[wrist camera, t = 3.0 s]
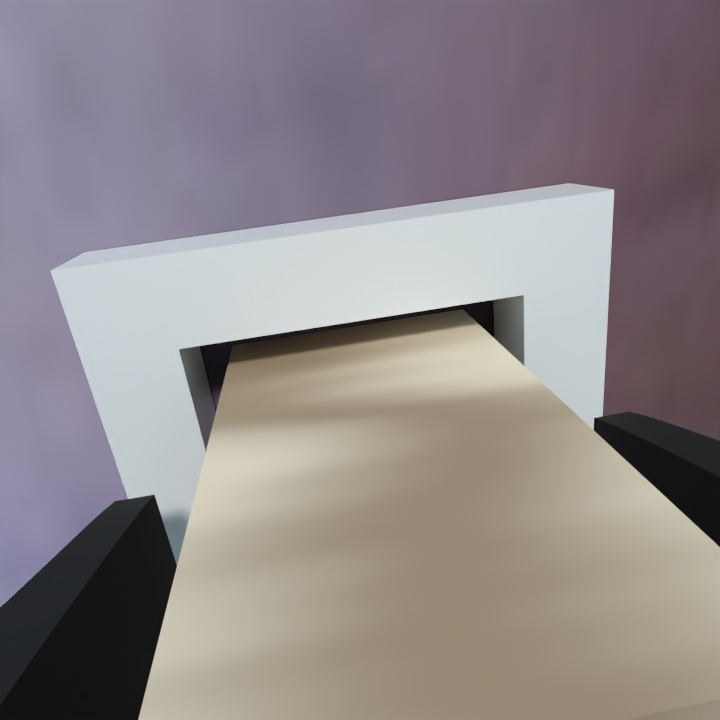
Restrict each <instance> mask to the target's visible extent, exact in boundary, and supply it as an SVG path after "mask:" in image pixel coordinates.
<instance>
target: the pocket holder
mask: <svg viewBox="0 0 720 720" xmlns="http://www.w3.org/2000/svg"><path fill="white" fill-rule="evenodd" d="M613 204H614V189H607V188H599V187H592V186H585V185H578V184H571V183H567V184H560V185H553V186H546V187H539V188H532V189H525V190H518V191H511V192H504V193H497V194H490V195H483V196H476V197H469V198H462V199H455V200H448V201H441V202H434V203H427V204H420V205H413V206H406V207H399V208H392V209H385V210H378V211H371V212H364V213H357V214H350V215H343V216H336V217H329V218H322V219H315V220H308V221H301V222H294V223H287V224H280V225H273V226H266V227H258V228H251V229H244V230H237V231H230V232H223V233H216V234H209V235H202V236H195V237H188V238H181V239H174V240H167V241H160V242H153V243H146V244H139V245H132V246H125V247H118V248H111V249H104V250H97V251H90V252H84V253H82V254H81V255H79V256H77V257H75V258H73V259H71V260H70V261H68V262H66V263H64V264H62V265H60V266H59V267H57V268H55V269H53V270H51V274H52V277H53V279H54V282H55V285H56V288H57V291H58V294H59V297H60V300H61V303H62V306H63V309H64V312H65V315H66V318H67V321H68V323H69V326H70V329H71V332H72V335H73V338H74V341H75V344H76V347H77V350H78V353H79V356H80V359H81V362H82V365H83V368H84V370H85V373H86V376H87V379H88V382H89V385H90V388H91V391H92V394H93V397H94V400H95V403H96V406H97V409H98V412H99V414H100V417H101V420H102V423H103V426H104V429H105V432H106V435H107V438H108V441H109V444H110V447H111V450H112V453H113V456H114V458H115V461H116V464H117V467H118V470H119V473H120V476H121V479H122V482H123V485H124V488H125V491H126V494H127V497H128V499H132V498H138V497H143V496H149V495H155V498H156V501H157V504H158V507H159V511H160V514H161V517H162V520H163V523H164V526H165V529H166V533H167V536H168V539H169V542H170V545H171V548H172V551H173V555H174V558H175V561H176V564H178V560H179V556H180V552H181V548H182V545H183V541H184V537H185V533H186V529H187V525H188V521H189V517H190V513H191V509H192V505H193V501H194V497H195V493H196V489H197V485H198V481H199V477H200V473H201V469H202V465H203V461H204V457H205V454H206V450H207V446H208V442H209V438H210V434H211V430H212V426H213V422H214V418H215V414H216V411H215V407H214V403H213V399H212V395H211V391H210V387H209V383H208V379H207V375H206V371H205V367H204V363H203V359H202V354H201V350H200V346H203V345H209V344H215V343H222V342H228V341H235V340H241V339H247V338H254V337H260V336H266V335H273V334H279V333H286V332H292V331H298V330H305V329H311V328H317V327H324V326H330V325H337V324H343V323H349V322H356V321H362V320H368V319H375V318H381V317H388V316H394V315H400V314H407V313H413V312H419V311H426V310H432V309H438V308H445V307H451V306H458V305H464V304H470V303H477V302H483V301H489V300H493V312H494V338H495V339H496V340H497V341H498V342H499V343H500V344H501V345H502V346H503V347H504V348H505V349H506V350H507V351H509V352H510V353H511V354H512V355H513V356H514V357H515V358H516V359H517V360H518V361H519V362H520V363H522V364H523V365H524V366H525V367H526V368H527V369H528V370H529V371H530V372H531V373H532V374H533V375H534V376H536V377H537V378H538V379H539V380H540V381H541V382H542V383H543V384H544V385H545V386H546V387H547V388H549V389H550V390H551V391H552V392H553V393H554V394H555V395H556V396H557V397H558V398H559V399H560V400H561V401H563V402H564V403H565V404H566V405H567V406H568V407H569V408H570V409H571V410H572V411H573V412H574V413H576V414H577V415H578V416H579V417H580V418H581V419H582V420H583V421H584V422H585V423H586V424H587V425H588V426H590V427H591V428H592V429H593V430H594V418H597V417H602V416H603V397H604V378H605V358H606V339H607V320H608V301H609V281H610V262H611V243H612V224H613Z"/></svg>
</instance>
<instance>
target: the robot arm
mask: <svg viewBox="0 0 720 720" xmlns="http://www.w3.org/2000/svg"><path fill="white" fill-rule="evenodd" d="M594 431H595V432H596V433H597V434H598V435H599V436H600V437H601V438H603V439H604V440H605V441H606V442H607V443H608V444H609V445H610V446H611V447H612V448H613V449H614V450H615V451H617V452H618V453H619V454H620V455H621V456H622V457H623V458H624V459H625V460H626V461H627V462H628V463H630V464H631V465H632V466H633V467H634V468H635V469H636V470H637V471H638V472H639V473H640V474H641V475H642V476H644V477H645V478H646V479H647V480H648V481H649V482H650V483H651V484H652V485H653V486H654V487H655V488H657V489H658V490H659V491H660V492H661V493H662V494H663V495H664V496H665V497H666V498H667V499H668V500H669V501H671V502H672V503H673V504H674V505H675V506H676V507H677V508H678V509H679V510H680V511H681V512H682V513H684V514H685V515H686V516H687V517H688V518H689V519H690V520H691V521H692V522H693V523H694V524H695V525H696V526H698V527H699V528H700V529H701V530H702V531H703V532H704V533H705V534H706V535H707V536H708V537H709V538H711V539H712V540H713V541H714V542H715V543H716V544H717V545H718V546H719V547H720V441H718V440H715V439H712V438H709V437H706V436H704V435H701V434H698V433H695V432H692V431H690V430H687V429H684V428H681V427H678V426H675V425H672V424H669V423H666V422H663V421H660V420H657V419H654V418H651V417H647V416H644V415H640V414H636V413H632V412H625V413H620V414H614V415H608V416H602V417H597V418H594ZM176 568H177V564H176V561H175V558H174V555H173V551H172V548H171V545H170V542H169V539H168V536H167V533H166V529H165V526H164V523H163V520H162V517H161V514H160V511H159V507H158V504H157V501H156V498H155V495H149V496H143V497H138V498H132V499H126V500H120V501H115V502H114V503H113V504H111V505H110V506H109V507H108V508H106V509H105V510H104V511H103V512H102V513H101V514H100V515H98V516H97V517H96V518H95V519H94V520H93V521H92V522H91V523H90V524H89V525H88V526H87V527H85V528H84V529H83V530H82V531H81V532H80V533H79V534H78V535H77V536H76V537H75V538H74V539H73V540H72V541H71V542H70V543H69V544H68V545H66V546H65V547H64V548H63V549H62V550H61V551H60V552H59V553H58V554H57V555H56V556H55V557H54V558H53V559H52V560H51V561H50V562H49V563H48V564H46V565H45V566H44V567H43V568H42V569H41V570H40V571H39V572H38V573H37V574H36V575H35V576H34V577H33V578H32V579H31V580H29V581H28V582H27V583H26V584H25V585H24V586H23V587H22V588H21V589H20V590H19V591H18V592H17V593H16V594H15V595H14V596H12V597H11V598H10V599H9V600H8V601H7V602H6V603H5V604H4V605H3V606H1V607H0V720H138V719H139V715H140V711H141V707H142V703H143V699H144V695H145V691H146V687H147V683H148V679H149V675H150V671H151V667H152V663H153V659H154V655H155V651H156V647H157V643H158V639H159V636H160V632H161V628H162V624H163V620H164V616H165V612H166V608H167V604H168V600H169V596H170V592H171V588H172V584H173V580H174V576H175V572H176Z"/></svg>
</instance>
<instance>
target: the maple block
mask: <svg viewBox="0 0 720 720" xmlns="http://www.w3.org/2000/svg"><path fill="white" fill-rule="evenodd" d="M138 720H720V547H719V546H718V545H717V544H716V543H715V542H714V541H713V540H712V539H711V538H709V537H708V536H707V535H706V534H705V533H704V532H703V531H702V530H701V529H700V528H699V527H698V526H696V525H695V524H694V523H693V522H692V521H691V520H690V519H689V518H688V517H687V516H686V515H685V514H684V513H682V512H681V511H680V510H679V509H678V508H677V507H676V506H675V505H674V504H673V503H672V502H671V501H669V500H668V499H667V498H666V497H665V496H664V495H663V494H662V493H661V492H660V491H659V490H658V489H657V488H655V487H654V486H653V485H652V484H651V483H650V482H649V481H648V480H647V479H646V478H645V477H644V476H642V475H641V474H640V473H639V472H638V471H637V470H636V469H635V468H634V467H633V466H632V465H631V464H630V463H628V462H627V461H626V460H625V459H624V458H623V457H622V456H621V455H620V454H619V453H618V452H617V451H615V450H614V449H613V448H612V447H611V446H610V445H609V444H608V443H607V442H606V441H605V440H604V439H603V438H601V437H600V436H599V435H598V434H597V433H596V432H595V431H594V430H593V429H592V428H591V427H590V426H588V425H587V424H586V423H585V422H584V421H583V420H582V419H581V418H580V417H579V416H578V415H577V414H576V413H574V412H573V411H572V410H571V409H570V408H569V407H568V406H567V405H566V404H565V403H564V402H563V401H561V400H560V399H559V398H558V397H557V396H556V395H555V394H554V393H553V392H552V391H551V390H550V389H549V388H547V387H546V386H545V385H544V384H543V383H542V382H541V381H540V380H539V379H538V378H537V377H536V376H534V375H533V374H532V373H531V372H530V371H529V370H528V369H527V368H526V367H525V366H524V365H523V364H522V363H520V362H519V361H518V360H517V359H516V358H515V357H514V356H513V355H512V354H511V353H510V352H509V351H507V350H506V349H505V348H504V347H503V346H502V345H501V344H500V343H499V342H498V341H497V340H496V339H495V338H493V337H492V336H491V335H490V334H489V333H488V332H487V331H486V330H485V329H484V328H483V327H482V326H480V325H479V324H478V323H477V322H476V321H475V320H474V319H473V318H472V317H471V316H470V315H469V314H468V313H466V312H465V311H464V310H463V309H461V310H454V311H448V312H441V313H435V314H429V315H422V316H416V317H410V318H403V319H397V320H391V321H384V322H378V323H372V324H365V325H359V326H352V327H346V328H340V329H333V330H327V331H321V332H314V333H308V334H302V335H295V336H289V337H283V338H276V339H270V340H263V341H257V342H251V343H244V344H238V345H233V347H232V351H231V355H230V359H229V362H228V366H227V370H226V374H225V378H224V382H223V386H222V390H221V394H220V398H219V402H218V406H217V410H216V414H215V418H214V422H213V426H212V430H211V434H210V438H209V442H208V446H207V450H206V454H205V457H204V461H203V465H202V469H201V473H200V477H199V481H198V485H197V489H196V493H195V497H194V501H193V505H192V509H191V513H190V517H189V521H188V525H187V529H186V533H185V537H184V541H183V545H182V548H181V552H180V556H179V560H178V564H177V568H176V572H175V576H174V580H173V584H172V588H171V592H170V596H169V600H168V604H167V608H166V612H165V616H164V620H163V624H162V628H161V632H160V636H159V639H158V643H157V647H156V651H155V655H154V659H153V663H152V667H151V671H150V675H149V679H148V683H147V687H146V691H145V695H144V699H143V703H142V707H141V711H140V715H139V719H138Z"/></svg>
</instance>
